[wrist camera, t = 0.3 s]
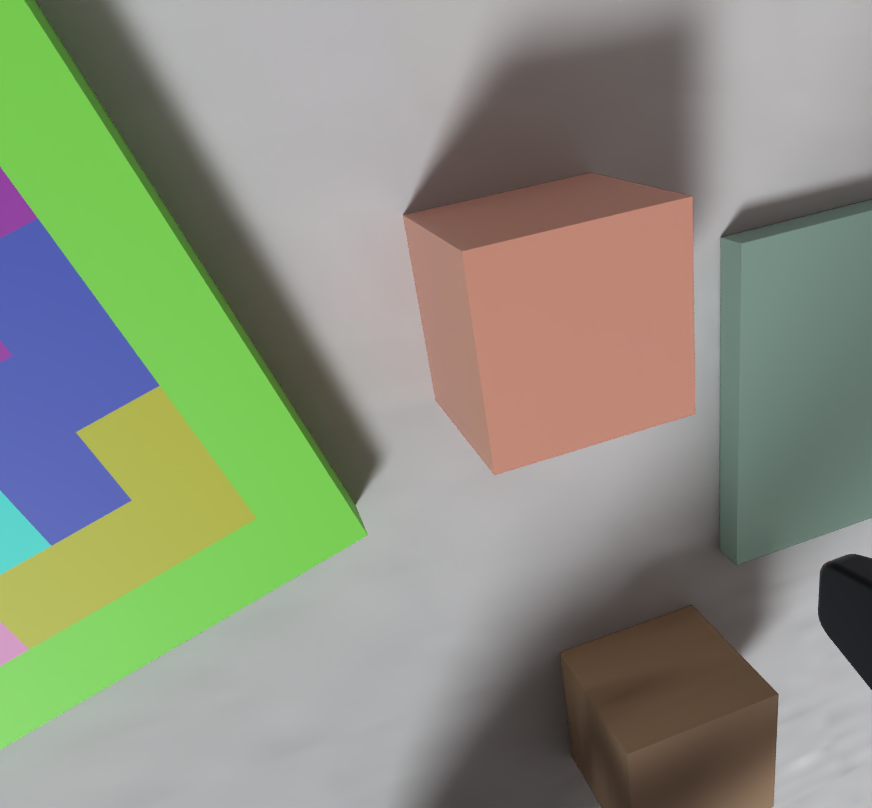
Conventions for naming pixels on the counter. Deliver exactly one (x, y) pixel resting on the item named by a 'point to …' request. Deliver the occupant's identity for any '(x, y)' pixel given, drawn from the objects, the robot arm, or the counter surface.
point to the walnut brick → (670, 718)
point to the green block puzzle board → (124, 411)
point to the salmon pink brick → (557, 314)
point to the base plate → (795, 381)
